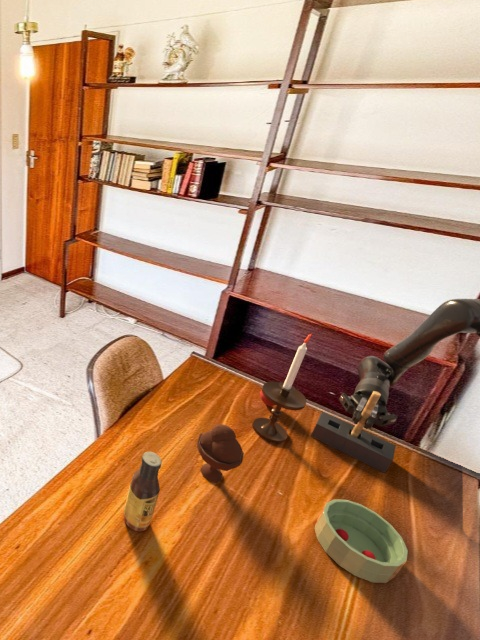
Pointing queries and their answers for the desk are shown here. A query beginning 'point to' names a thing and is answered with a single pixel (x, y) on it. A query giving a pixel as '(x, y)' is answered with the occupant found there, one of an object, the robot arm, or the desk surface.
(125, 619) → the desk surface
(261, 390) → the onion
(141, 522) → the sauce bottle
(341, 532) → the berry
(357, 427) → the stirring stick
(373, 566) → the bowl
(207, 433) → the ice cream bowl
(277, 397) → the candlestick
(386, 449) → the stand
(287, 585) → the desk surface
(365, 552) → the berry
